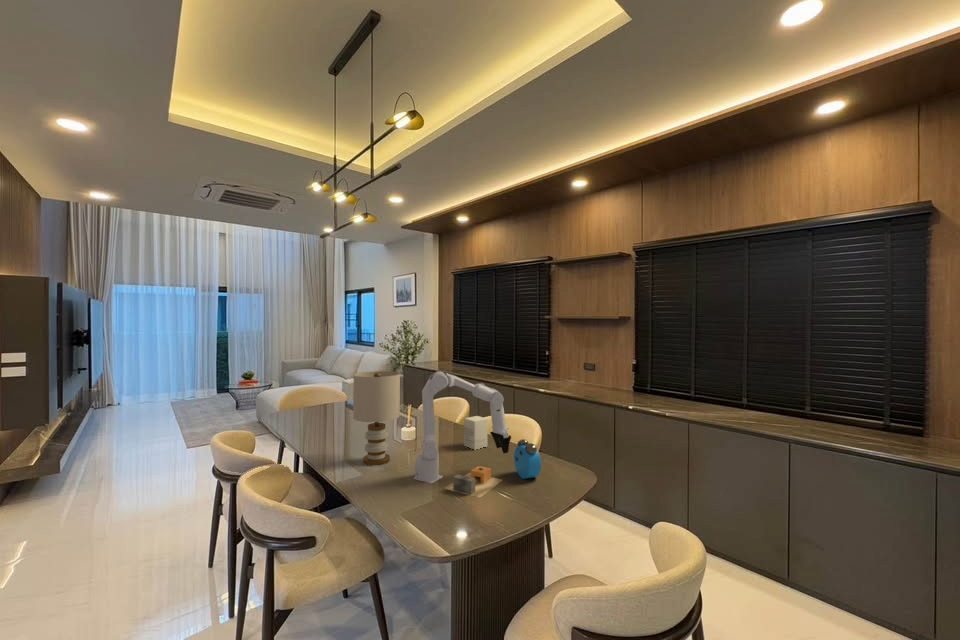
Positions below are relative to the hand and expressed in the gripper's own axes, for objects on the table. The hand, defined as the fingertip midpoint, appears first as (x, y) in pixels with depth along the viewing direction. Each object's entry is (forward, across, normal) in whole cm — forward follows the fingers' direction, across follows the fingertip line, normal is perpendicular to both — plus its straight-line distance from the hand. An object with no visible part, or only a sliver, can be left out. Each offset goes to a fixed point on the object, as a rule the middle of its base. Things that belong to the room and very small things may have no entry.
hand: (502, 450), depth 168 cm
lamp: (+3, +32, +52) cm, 61 cm away
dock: (+8, -7, +16) cm, 20 cm away
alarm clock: (+12, -6, -7) cm, 15 cm away
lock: (+8, -4, +12) cm, 15 cm away
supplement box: (+10, +39, +1) cm, 40 cm away
